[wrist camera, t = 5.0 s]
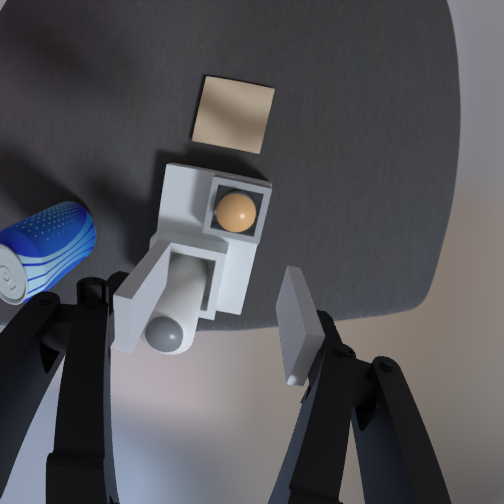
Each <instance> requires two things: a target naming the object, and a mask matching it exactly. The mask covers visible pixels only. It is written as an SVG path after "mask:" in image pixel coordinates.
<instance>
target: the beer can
mask: <svg viewBox="0 0 504 504" xmlns="http://www.w3.org/2000/svg"><path fill="white" fill-rule="evenodd" d="M95 241H96V230H95V225H94V222H93V219H92V217H91V216H90V214H89V213H88V212H87V210H86V209H85V208H83V207H82V206H81V205H79V204H78V203H75V202H71V201H65V202H61V203H59V204H56V205H54V206H52V207H50V208H47V209H45V210H43V211H41V212H38V213H36V214H34V215H32V216H30V217H28V218H26V219H23V220H21V221H19V222H17V223H15V224H13V225H11V226H9V227H7V228H5V229H3V230H2V231H0V298H1V299H3V300H4V301H5V302H7V303H9V304H13V305H17V304H20V303H22V302H28V301H29V299H30V298H31V297H32V296H34V295H35V294H37V293H39V292H43V291H48V290H49V289H50V288H51V287H52V286H53V285H54V284H56V283H57V282H58V281H59V280H60V279H61V278H62V277H63V276H65V275H66V274H67V273H68V272H69V271H70V270H72V269H73V268H74V267H75V266H76V265H77V264H79V263H80V262H81V261H82V260H83V259H85V258H86V257H87V256H88V255H89V254H90V253H91V251H92V250H93V248H94V245H95Z"/></svg>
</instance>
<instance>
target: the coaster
mask: <svg viewBox="0 0 504 504" xmlns="http://www.w3.org/2000/svg"><path fill="white" fill-rule="evenodd" d="M274 90H275V89H272V88H268V87H263V86H258V85H254V84H249V83H244V82H238V81H233V80H227V79H221V78H215V77H208V76H206V80H205V84H204V88H203V93H202V97H201V101H200V105H199V110H198V114H197V119H196V123H195V128H194V133H193V138H192V141H196V142H201V143H207V144H213V145H218V146H223V147H228V148H233V149H238V150H243V151H248V152H252V153H257V154H260V150H261V145H262V141H263V137H264V132H265V128H266V124H267V120H268V115H269V111H270V107H271V103H272V98H273V94H274Z"/></svg>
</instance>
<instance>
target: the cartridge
mask: <svg viewBox="0 0 504 504" xmlns="http://www.w3.org/2000/svg"><path fill="white" fill-rule="evenodd" d="M208 271H209V269H208V264H207V262H206V260H205V258H200V257H195V256H190V255H185V254H181V253H175V254H174V255H173V256H172V257H171V259H170V261H169V266H168V275H167V284H166V286H165V288H164V290H163V292H162V294H161V296H160V298H159V300H158V302H157V304H156V306H155V307H154V309H153V311H152V313H151V315H150V317H149V319H148V321H147V323H146V325H145V327H144V329H143V331H142V333H141V335H140V337H141V339H142V341H143V342H144V343H145V344H146V345H147V346H148V347H150V348H151V349H153V350H155V351H157V352H160V353H163V354H170V355H172V354H179V353H182V352H184V351H185V350H187V349H188V348H189V347H190V346H191V344H192V342H193V339H194V335H195V330H196V325H197V321H198V316H199V312H200V307H201V303H202V298H203V294H204V289H205V285H206V281H207V276H208Z"/></svg>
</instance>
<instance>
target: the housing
mask: <svg viewBox="0 0 504 504" xmlns="http://www.w3.org/2000/svg"><path fill="white" fill-rule="evenodd" d="M235 189H239V190H243V191H246V192H247V193H249V194H250V195H251V196H252V198H253V199H254V202H255V210H256V216H255V220H254V222H253V224H252V225H251V226H250V227H249V228H248V229H246V230H244V231H242V232H231V231H228V230H226V229H225V228H223V227H222V226H221V225H220V223H219V222H218V219H217V215H216V211H217V207H218V204H219V202H220V200H221V198H222V197H223V195H224V194H226V193H227V192H229V191H231V190H235ZM271 192H272V188H271V183H270V182H269V181H264V180H260V179H255V178H250V177H246V176H241V175H236V174H231V173H226V172H221V171H216V170H211V169H206V168H201V167H195V166H190V165H184V164H178V163H169V164H167V166H166V171H165V177H164V184H163V190H162V197H161V203H160V211H159V218H158V226H157V232H156V233H155V234H154V235H153V236H152V237H151V238H150V247H149V250H150V249H151V248H152V246H153V245H154V244H155V243H156V242H157V241H158V239H161V240H166V241H171V242H172V243H171V250H170V258H169V261H170V259H171V257H172V256H173V255H174V254H175V253H181V254H185V255H190V256H195V257H200V258H205V260H206V262H207V264H208V269H209V271H208V276H207V281H206V285H205V289H204V294H203V298H202V303H201V307H200V312H199V316H198V317H201V318H206V319H211V320H214V316H215V311H216V310H218V311H223V312H228V313H233V314H239V315H240V314H241V310H242V306H243V302H244V298H245V293H246V289H247V285H248V281H249V277H250V273H251V269H252V264H253V260H254V256H255V252H256V248H257V244H259V241H260V237H261V233H262V229H263V225H264V221H265V217H266V212H267V208H268V204H269V200H270V196H271Z"/></svg>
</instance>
